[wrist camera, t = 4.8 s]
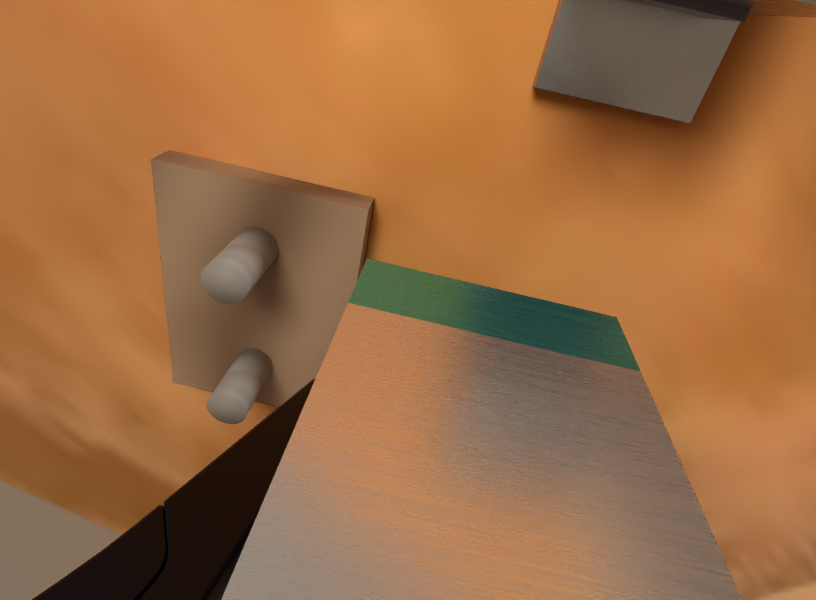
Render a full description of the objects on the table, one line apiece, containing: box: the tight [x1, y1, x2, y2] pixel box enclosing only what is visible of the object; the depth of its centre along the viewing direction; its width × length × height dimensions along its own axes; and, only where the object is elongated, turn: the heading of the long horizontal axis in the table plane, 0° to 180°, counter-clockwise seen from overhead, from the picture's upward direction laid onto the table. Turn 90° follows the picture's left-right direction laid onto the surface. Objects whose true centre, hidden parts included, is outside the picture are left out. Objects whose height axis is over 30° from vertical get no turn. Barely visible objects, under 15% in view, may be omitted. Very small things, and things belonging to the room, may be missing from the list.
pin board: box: [151, 151, 374, 424], centre depth 19 cm, size 8×11×4 cm
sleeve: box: [221, 259, 742, 600], centre depth 7 cm, size 5×5×7 cm
